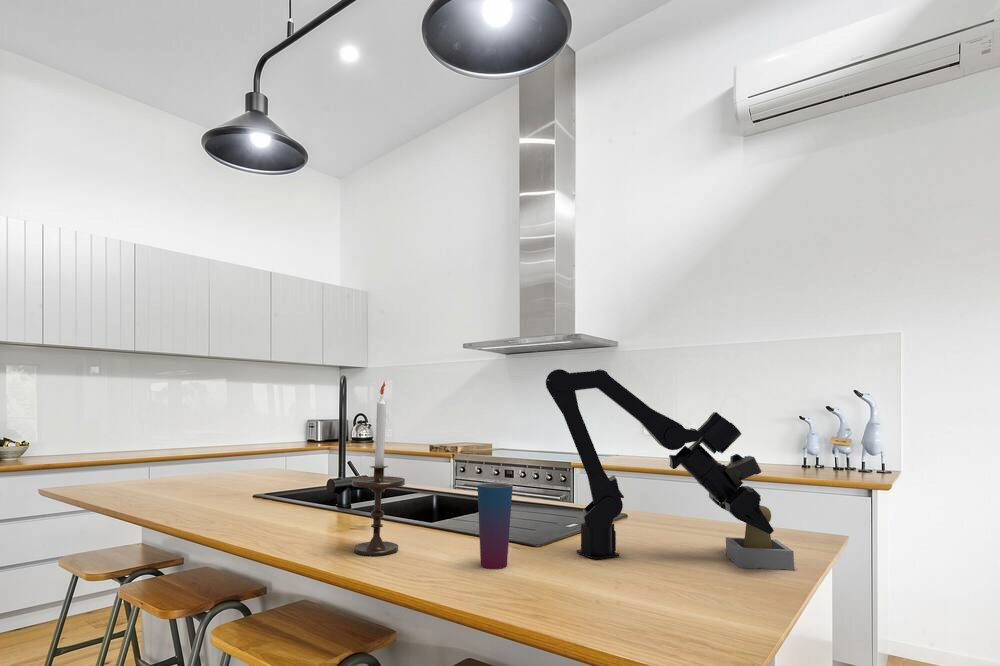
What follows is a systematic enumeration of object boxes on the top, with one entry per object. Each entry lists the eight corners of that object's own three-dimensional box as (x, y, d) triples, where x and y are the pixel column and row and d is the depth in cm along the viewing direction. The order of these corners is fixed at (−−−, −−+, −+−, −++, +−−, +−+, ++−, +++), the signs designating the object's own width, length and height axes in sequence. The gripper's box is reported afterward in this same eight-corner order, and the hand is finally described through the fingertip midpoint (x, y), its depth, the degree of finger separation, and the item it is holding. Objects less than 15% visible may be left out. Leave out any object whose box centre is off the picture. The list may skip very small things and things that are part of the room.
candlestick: (412, 552, 122) (417, 381, 126) (362, 560, 115) (369, 379, 119) (387, 542, 130) (393, 382, 134) (340, 549, 124) (348, 380, 128)
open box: (739, 567, 114) (738, 548, 115) (726, 554, 124) (725, 537, 124) (794, 570, 113) (793, 551, 113) (776, 556, 123) (775, 539, 123)
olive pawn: (780, 566, 115) (778, 508, 117) (749, 566, 116) (747, 507, 117) (767, 558, 121) (765, 503, 123) (737, 557, 122) (735, 502, 123)
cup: (477, 560, 117) (478, 482, 118) (511, 561, 116) (512, 482, 118) (474, 569, 110) (476, 486, 112) (511, 570, 110) (512, 487, 111)
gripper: (746, 445, 112) (811, 507, 110) (722, 439, 131) (777, 492, 128) (704, 486, 113) (768, 549, 110) (686, 475, 131) (740, 528, 128)
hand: (764, 527), depth 119 cm, fingers open, 9 cm apart
